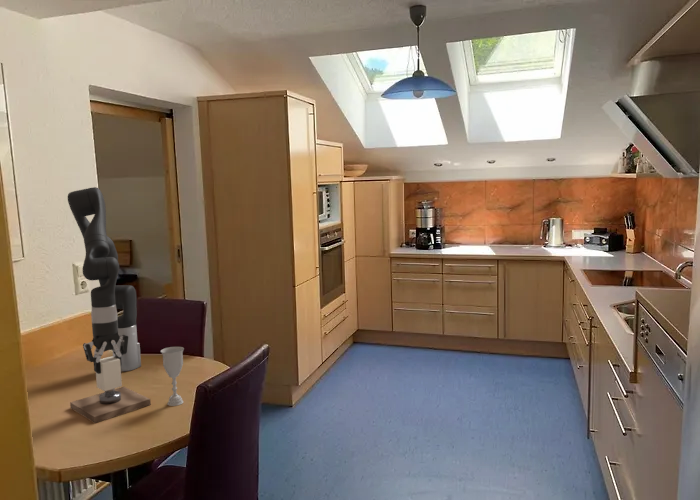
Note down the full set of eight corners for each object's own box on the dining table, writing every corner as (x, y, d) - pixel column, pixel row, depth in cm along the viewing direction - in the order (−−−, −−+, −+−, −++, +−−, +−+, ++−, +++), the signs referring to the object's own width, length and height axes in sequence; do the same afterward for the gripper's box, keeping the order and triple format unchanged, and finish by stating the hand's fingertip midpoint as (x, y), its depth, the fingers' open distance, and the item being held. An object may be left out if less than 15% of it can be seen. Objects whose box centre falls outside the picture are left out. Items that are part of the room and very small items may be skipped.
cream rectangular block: (113, 382, 179) (112, 356, 178) (121, 386, 175) (120, 359, 174) (96, 387, 175) (94, 360, 174) (104, 391, 171) (102, 363, 170)
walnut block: (124, 392, 188) (124, 386, 188) (150, 404, 176) (150, 398, 176) (70, 408, 175) (70, 402, 175) (94, 423, 163) (94, 416, 163)
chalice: (165, 408, 173) (162, 354, 171) (162, 401, 179) (159, 348, 177) (188, 404, 176) (185, 350, 174) (184, 397, 182) (182, 345, 180)
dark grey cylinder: (115, 395, 180) (113, 366, 179) (124, 400, 176) (122, 370, 175) (96, 401, 175) (93, 371, 174) (105, 406, 171) (102, 375, 170)
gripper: (121, 313, 180) (124, 362, 182) (76, 322, 170) (80, 374, 171) (131, 316, 175) (135, 367, 177) (86, 325, 165) (90, 379, 167)
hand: (108, 370), depth 174 cm, fingers closed on cream rectangular block, 5 cm apart
